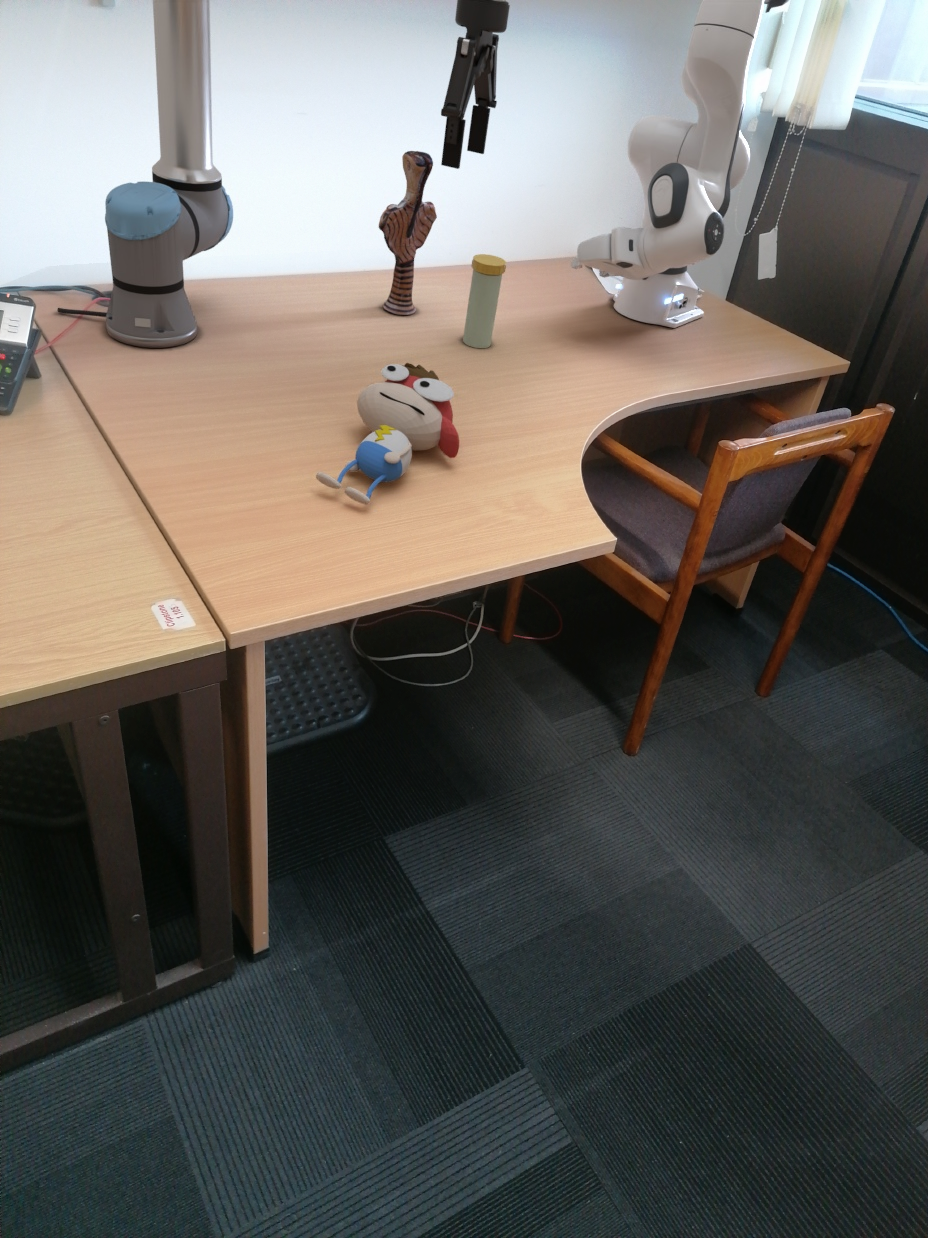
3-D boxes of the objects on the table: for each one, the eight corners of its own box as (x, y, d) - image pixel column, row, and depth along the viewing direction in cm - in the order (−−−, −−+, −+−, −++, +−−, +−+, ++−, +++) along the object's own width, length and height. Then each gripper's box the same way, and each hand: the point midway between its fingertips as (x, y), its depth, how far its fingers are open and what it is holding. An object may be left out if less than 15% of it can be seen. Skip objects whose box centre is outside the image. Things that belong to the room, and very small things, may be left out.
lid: (465, 263, 167) (466, 254, 166) (494, 262, 170) (495, 253, 169) (481, 275, 163) (483, 265, 162) (511, 274, 166) (512, 265, 165)
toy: (278, 428, 121) (396, 343, 140) (277, 485, 128) (389, 398, 148) (391, 486, 117) (497, 391, 136) (384, 542, 124) (485, 444, 143)
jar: (457, 337, 176) (469, 257, 167) (481, 335, 179) (494, 256, 169) (471, 349, 173) (483, 267, 163) (495, 347, 175) (509, 266, 166)
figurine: (408, 296, 190) (424, 141, 171) (437, 307, 187) (456, 151, 168) (363, 310, 180) (375, 147, 161) (392, 322, 177) (407, 158, 158)
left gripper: (485, 3, 116) (463, 178, 129) (530, -3, 135) (506, 151, 148) (431, -8, 117) (414, 167, 130) (483, -12, 136) (463, 141, 149)
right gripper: (672, 246, 181) (617, 262, 191) (612, 224, 167) (556, 242, 177) (672, 278, 182) (617, 292, 191) (613, 259, 167) (556, 275, 177)
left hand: (463, 159), depth 139 cm, fingers open, 13 cm apart
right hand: (587, 268), depth 184 cm, fingers open, 8 cm apart
